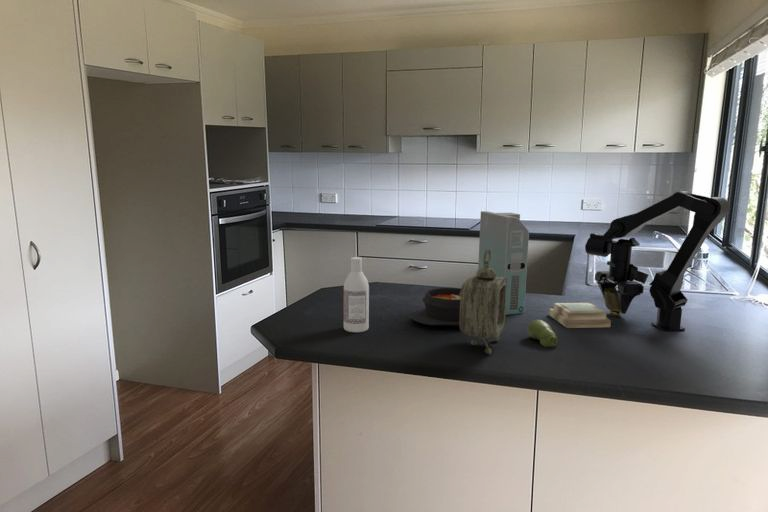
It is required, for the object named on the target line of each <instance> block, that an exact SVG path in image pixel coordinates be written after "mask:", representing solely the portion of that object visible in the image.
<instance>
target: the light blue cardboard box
mask: <svg viewBox="0 0 768 512" xmlns="http://www.w3.org/2000/svg"><path fill="white" fill-rule="evenodd" d="M479 221H480V225H479V240H478V241H479V243H478V265H477V266H478V268H477V271H478V270H479V269H480V268H483V267H485V266H484V263H483V260H484V253H485V251H486V250H487V249H489V250H490V252H491V258H490V263H489V268H492V269H493V270H494V271H495V273H496V276H497V277H506V278H507V300H506V315H507V316H510V315H519V314H520V315H521V314H524V312H525V306H526V305H525V304H526V303H525V302H526V291H527V288H526V287H527V286H526V285H527V271H528V253H529V240H530V232H529V229H528V228H527V227H526V225H525V224H524V223H523V222H522V220H521V214H519V213H516V212H492V211H486V210H481V211H480V218H479ZM488 259H489V253H487V255H486V259H485V261H486V260H487V261H488ZM506 315H505V316H506Z"/></svg>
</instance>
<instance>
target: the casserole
mask: <svg viewBox="0 0 768 512" xmlns="http://www.w3.org/2000/svg"><path fill="white" fill-rule="evenodd" d="M460 296H461V288H459V287H439V288H438V287H437V288H433V289H429V290H427V291H426V293H425V295H424V297H422V299H421V300H422V302H423V303H424V309H422V310H419V311H416V312H415V311H414V312H413V313H410V315H409V317H410V318H411V320H412V321H415V322H417V323H420V324H423V325H426V326H443V327H453V328H454V327H459V320H460Z"/></svg>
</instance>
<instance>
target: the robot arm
mask: <svg viewBox="0 0 768 512" xmlns="http://www.w3.org/2000/svg"><path fill="white" fill-rule="evenodd" d="M680 208H683V209H685V210H688V211H689V212H692V213H694V215H693V220H692V221H693V222H692V227H691V228H690V230H689V231H688V233H687V235H686V237H685V239H683V242H682V243H681V244H680V245H681V246H680V247H679V249H678V250H677V252H676V254H675V256H674V257H673V259H672V261H671V263H670V264H669V266H668V267H667V269H666V270H661V271H657V272H656V273H655V275H654V277H653V279H652V281H651V282H650V283H649V286H650V287H649V295H650V296H651V298H652V299H653V303H654V307H655V308H657V313H656V314H657V315H656V322H651V325H653V326H655V327H656V328H658V329H660V330H662V331H666V332H667V331H668V332H670V331H672V332H673V331H686V328H685V327H683V326H681V323H682V315H683V314H682V313H683V309H682V307H685V306H686V304H687V302H688V298H687V297H686V296H685V294H684V293H683V292H682V291H681V290H682V287H683V284H684V276H685V274H686V272H687V270H688V268H689V267H690V265H691V263H692V262H693V260H694V259H695V257H696V255H698V252H699V250H700V249H701V247H702V245H703V244H704V242H705V241H706V239H707V237H708V235H709V234H710V232H711V231H712V230H713V229H715V228H716V227H717V226H718V225H719V224H720V223H721V222H722V221H723V220H724V219H725V218H726V216H727V215H728V214H729V213H730V211H731V206H730V203H729V202H728V200H727V199H725V198H724V197H721V196H714V197H708V196H704V195H700V194H696V193H692V192H689V191H686V190H685V191H684V190H682V191H680V190H679V191H676V192H674V193H673V194H672V195H670V196H668V197H666V198H664V199H662V200H660V201H658V202H655V203H654V204H652V205H651V206H647V207H645V209H642V210H640V211H638V212H637V213H633V214H629V215H625V216H621V217H617V218H615V219H613V220H612V221H611V222H610V225H609V228H608V229H607V230H606V231H605V233H604V234H599V233H595V232H591V233H590V234H589V238H588V239H587V241H586V243H585V244H584V245H585V246H584V249H585V253H586V254H587V255H589V256H596V257H604V258H607V257H608V256H609V255H610V257H609V260H607V261H606V265H608V266H609V268H608V270H605V271H604V270H602V271H601V270H598V271H596V273H595V274H594V280H595V281H596V284H597V286H598V288H599V290H600V292H601V294H602V298H603V300H604V301H605V292H604V289H606V288H607V289H608V288H609V287H610V288H613V289H614V288H616V287H617V291H618V290H619V292H617V294H618V299H619V304H620V309H621V313H622V315H624V314H625V315H626V313H627V311H628V309H629V307H630V305H631V303H632V301H633V299H634V298H636V297H637V296H640V295H641V294H644V291H645V287H644V285H645V284H646V282H647V279H648V277H649V274H648V273H645V272H643V271H640V270H639V267H638V266H636V265H634V263H631V261H632V249H633V248H634V247H638V246H640V245H641V244H640V243H639V242H638V240H636V238H635V237H631V236H633V235H635V234H637V233H638V232H639V231H640V230H642V229H643V228H644V227H645V226H647V224H649V223H651V222H653V221H656V220H658V219H659V218H661V217H664V216H665V215H667V214H670V213H671V212H674V211H676V210H678V209H680ZM626 237H630V238H629V239H625V238H626ZM615 239H618V240H615Z"/></svg>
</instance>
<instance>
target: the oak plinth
mask: <svg viewBox="0 0 768 512" xmlns="http://www.w3.org/2000/svg"><path fill="white" fill-rule="evenodd" d="M548 316H550V317H551V318H552V319H554V320H555V321H556V322H558V323H559V324H561V325H562V326H563V327H564V328H566V329H575V328H577V329H579V328H582V329H584V328H586V329H589V328H591V329H592V328H611V325H612V324H611V323H612V320H611V319H610V318H608V317H607V312H606V311H605V310H603V309H601V308H599V307H597V306H596V305H594V304H593V303H590V302H554V303H553V308H549V309H548Z"/></svg>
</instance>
